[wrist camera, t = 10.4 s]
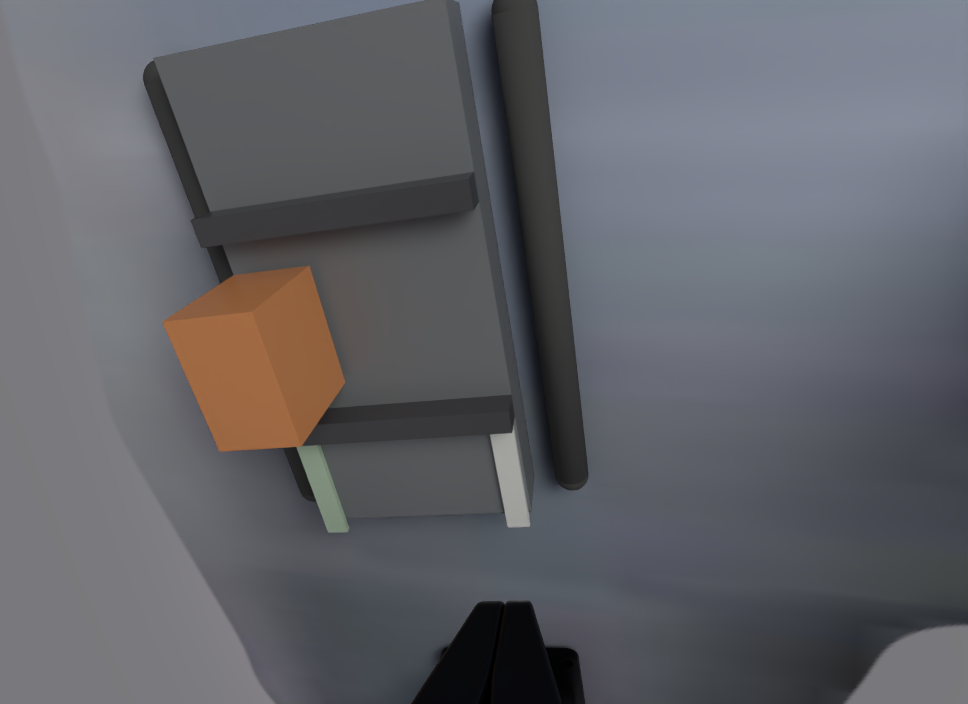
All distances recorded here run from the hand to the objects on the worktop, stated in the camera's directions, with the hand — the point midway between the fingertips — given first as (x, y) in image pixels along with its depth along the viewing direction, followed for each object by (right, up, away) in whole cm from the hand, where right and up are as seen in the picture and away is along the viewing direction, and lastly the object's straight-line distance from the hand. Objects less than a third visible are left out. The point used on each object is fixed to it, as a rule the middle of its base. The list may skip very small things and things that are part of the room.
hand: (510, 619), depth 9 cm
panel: (-4, +6, +11) cm, 13 cm away
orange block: (-6, +5, +9) cm, 12 cm away
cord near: (+2, +7, +10) cm, 12 cm away
